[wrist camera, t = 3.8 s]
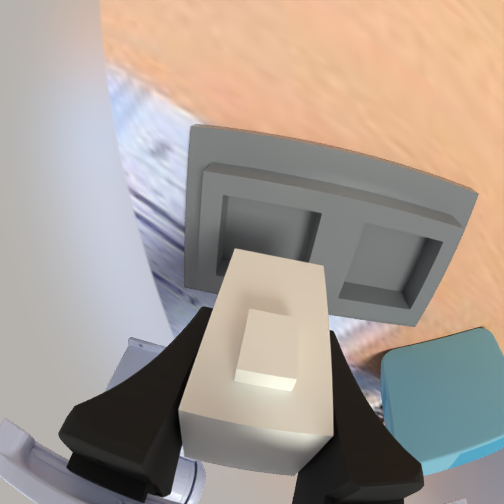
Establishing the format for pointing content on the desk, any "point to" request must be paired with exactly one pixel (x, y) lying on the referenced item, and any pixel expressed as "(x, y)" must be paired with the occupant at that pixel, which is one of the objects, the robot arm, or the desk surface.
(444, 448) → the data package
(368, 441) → the robot arm
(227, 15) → the desk surface
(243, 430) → the plug
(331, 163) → the jack panel
